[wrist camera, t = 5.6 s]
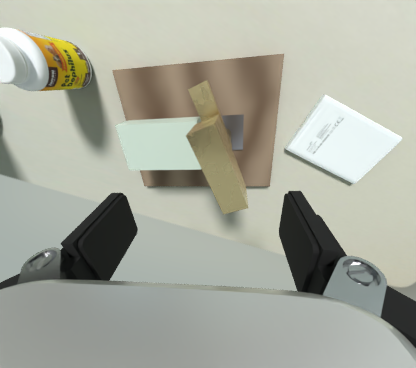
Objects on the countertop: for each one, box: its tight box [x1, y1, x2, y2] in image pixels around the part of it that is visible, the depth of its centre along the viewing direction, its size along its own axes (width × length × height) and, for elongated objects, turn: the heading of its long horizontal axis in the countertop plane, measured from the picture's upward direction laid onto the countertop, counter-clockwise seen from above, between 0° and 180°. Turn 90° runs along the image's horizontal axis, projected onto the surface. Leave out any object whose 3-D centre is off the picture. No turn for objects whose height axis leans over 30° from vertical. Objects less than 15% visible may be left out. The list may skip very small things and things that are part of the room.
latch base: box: [112, 54, 284, 186], centre depth 27 cm, size 22×18×4 cm
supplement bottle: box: [0, 28, 92, 91], centre depth 21 cm, size 6×6×10 cm
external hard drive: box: [285, 94, 402, 184], centre depth 26 cm, size 2×8×12 cm
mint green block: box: [115, 117, 201, 170], centre depth 24 cm, size 10×6×3 cm, turn 94°
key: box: [186, 80, 248, 214], centre depth 20 cm, size 11×2×13 cm, turn 23°
